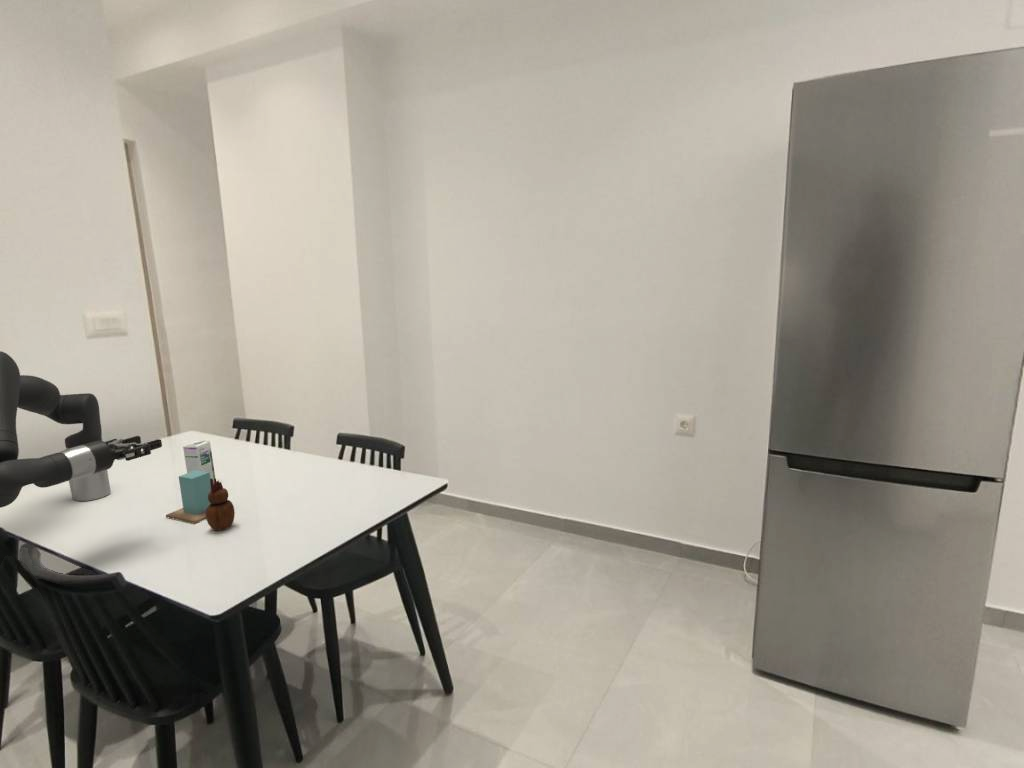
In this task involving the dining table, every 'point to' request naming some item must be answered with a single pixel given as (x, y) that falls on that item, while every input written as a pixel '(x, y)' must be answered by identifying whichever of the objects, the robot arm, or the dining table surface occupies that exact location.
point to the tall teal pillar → (195, 491)
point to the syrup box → (199, 457)
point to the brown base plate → (187, 516)
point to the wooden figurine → (219, 507)
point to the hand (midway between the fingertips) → (150, 441)
